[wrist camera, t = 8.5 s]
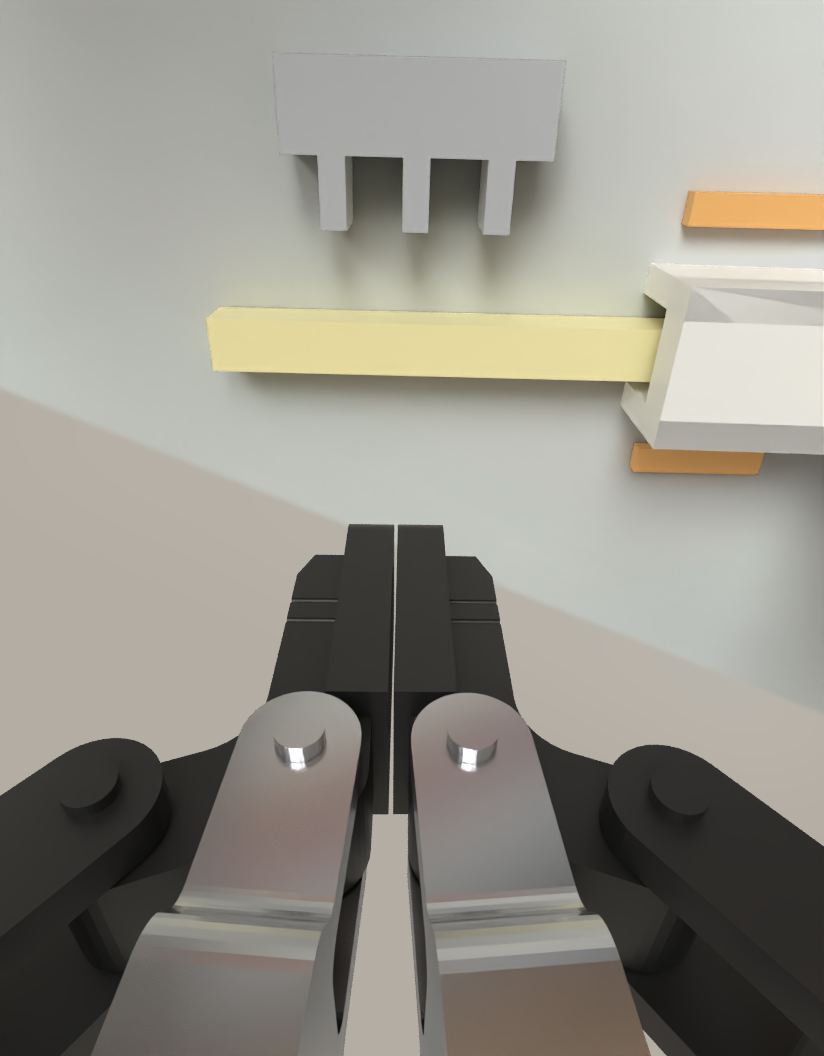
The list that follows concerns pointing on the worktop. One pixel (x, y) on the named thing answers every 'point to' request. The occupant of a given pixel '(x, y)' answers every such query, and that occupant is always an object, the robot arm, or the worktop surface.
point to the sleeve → (734, 361)
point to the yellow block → (433, 344)
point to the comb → (417, 123)
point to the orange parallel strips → (732, 214)
